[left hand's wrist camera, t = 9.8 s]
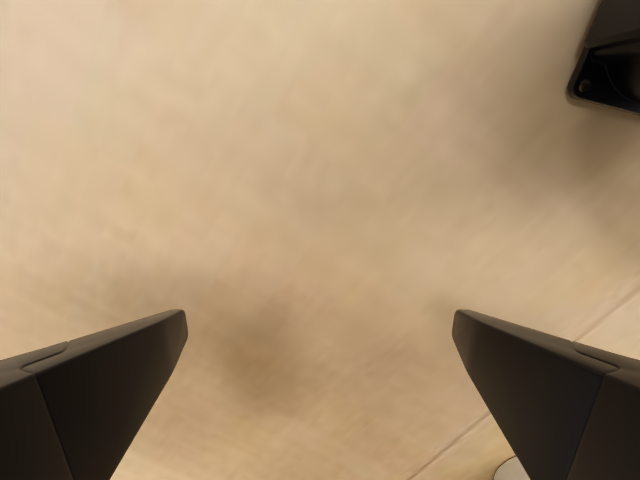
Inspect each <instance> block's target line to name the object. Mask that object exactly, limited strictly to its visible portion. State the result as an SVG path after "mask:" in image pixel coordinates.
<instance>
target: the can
mask: <svg viewBox="0 0 640 480" xmlns="http://www.w3.org/2000/svg"><path fill="white" fill-rule="evenodd" d="M494 480H530V478H529V477H528V475H527V473H526V472H525V470H524V468H523V466H522V465H521V463H520V461H519V460H518V458H517V456H516V457H514V458H511V459H509V460H508V461H506V462H505V463H503V464H502V465H501V466H500V467H499V468H498V470H497V471H496V473H495V476H494Z"/></svg>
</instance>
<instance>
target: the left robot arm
mask: <svg viewBox="0 0 640 480" xmlns="http://www.w3.org/2000/svg"><path fill="white" fill-rule="evenodd" d="M581 82H583V83H584V88H583V90H582V91H579V85H580V83H581ZM568 94H569V95H570V96H571V97H572V98H575V99H579V100H583V101H587V102H591V103H595V104H599V105H603V106H606V107H610V108H614V109H618V110H622V111H626V112H630V113H634V114H638V115H640V0H603V1H602V3H601V6H600V8H599V10H598V13H597V15H596V17H595V20H594V22H593V24H592V26H591V29H590V31H589V33H588V36H587V38H586V40H585V48H584V50H583V52H582V55H581V57H580V59H579V62H578V64H577V66H576V68H575V71H574V73H573V75H572V78H571V80H570V82H569V85H568ZM187 337H188V328H187V322H186V316H185V312H184V311H183V310H169V311H166V312H162V313H159V314H156V315H152V316H149V317H146V318H143V319H139V320H136V321H133V322H130V323H126V324H123V325H120V326H116V327H113V328H110V329H107V330H103V331H100V332H97V333H94V334H90V335H87V336H84V337H80V338H77V339H74V340H71V341H69V342H67V341H66V342H63V343H59V344H56V345H53V346H49V347H46V348H42V349H39V350H36V351H32V352H29V353H25V354H22V355H18V356H14V357H11V358H7V359H3V360H0V480H110V478H111V477H112V475H113V473H114V472H115V470H116V468H117V466H118V465H119V463H120V461H121V460H122V458H123V456H124V454H125V453H126V451H127V449H128V448H129V446H130V444H131V443H132V441H133V439H134V437H135V436H136V434H137V432H138V431H139V429H140V427H141V426H142V424H143V422H144V420H145V419H146V417H147V415H148V414H149V412H150V410H151V409H152V407H153V405H154V403H155V402H156V400H157V398H158V397H159V395H160V393H161V391H162V390H163V388H164V386H165V385H166V383H167V381H168V380H169V378H170V376H171V374H172V372H173V370H174V368H175V366H176V364H177V361H178V359H179V357H180V354H181V352H182V350H183V347H184V345H185V343H186V340H187ZM452 337H453V340H454V343H455V345H456V347H457V350H458V352H459V354H460V357H461V359H462V361H463V364H464V366H465V368H466V370H467V372H468V374H469V376H470V378H471V380H472V381H473V383H474V385H475V386H476V388H477V390H478V391H479V393H480V395H481V397H482V398H483V400H484V402H485V403H486V405H487V407H488V409H489V410H490V412H491V414H492V415H493V417H494V419H495V420H496V422H497V424H498V426H499V427H500V429H501V431H502V432H503V434H504V436H505V437H506V439H507V441H508V443H509V444H510V446H511V448H512V449H513V451H514V453H515V454H516V456H517V458H518V460H519V461H520V463H521V465H522V466H523V468H524V470H525V472H526V473H527V475H528V477H529V478H530V480H640V360H637V359H633V358H629V357H626V356H622V355H618V354H615V353H611V352H608V351H604V350H601V349H598V348H594V347H591V346H587V345H584V344H581V343H577V342H574V341H573V342H571V341H569V340H566V339H563V338H560V337H556V336H553V335H550V334H546V333H543V332H540V331H537V330H533V329H530V328H527V327H524V326H520V325H517V324H514V323H510V322H507V321H504V320H501V319H497V318H494V317H491V316H488V315H484V314H481V313H478V312H474V311H471V310H457V311H456V312H455V316H454V322H453V328H452Z"/></svg>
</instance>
